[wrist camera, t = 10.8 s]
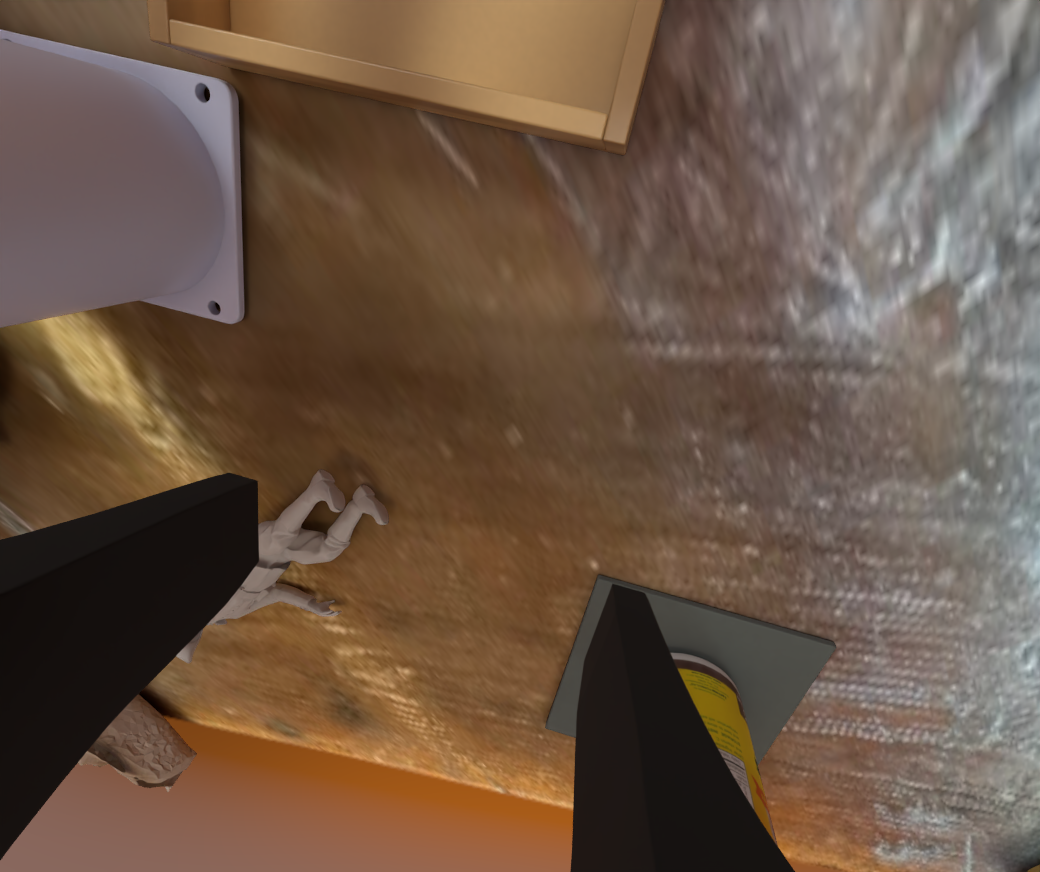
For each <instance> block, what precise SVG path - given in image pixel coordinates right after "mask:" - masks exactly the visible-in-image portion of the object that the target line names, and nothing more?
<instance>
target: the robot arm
mask: <svg viewBox="0 0 1040 872" xmlns="http://www.w3.org/2000/svg"><path fill="white" fill-rule="evenodd" d="M206 87H207V88H208V89H209V92H210V100H209V101H208V102H207V101H206V99H205V96H204V91H205V88H206ZM138 300H140V301H144V302H147V303H151V304H155V305H159V306H163V307H166V308H170V309H174V310H178V311H181V312H185V313H189V314H193V315H197V316H200V317H204V318H208V319H212V320H215V321H219V322H223V323H227V324H234V323H237V322H240V321H241V320H242V319H243V318H244V313H245V311H244V275H243V240H242V205H241V169H240V134H239V101H238V96H237V93H236V91H235V89H234V87H233V86H232V85H231V84H230V83H228V82H226V81H224V80H221V79H218V78H214V77H209V76H205V75H200V74H196V73H191V72H187V71H183V70H178V69H174V68H169V67H165V66H160V65H156V64H151V63H147V62H143V61H138V60H134V59H129V58H125V57H120V56H116V55H112V54H107V53H103V52H98V51H94V50H89V49H85V48H80V47H76V46H72V45H67V44H63V43H58V42H54V41H49V40H45V39H41V38H36V37H32V36H27V35H23V34H18V33H14V32H9V31H5V30H1V29H0V328H1V327H6V326H11V325H16V324H21V323H26V322H31V321H36V320H41V319H46V318H51V317H57V316H62V315H67V314H72V313H77V312H82V311H87V310H92V309H97V308H102V307H107V306H112V305H117V304H123V303H128V302H133V301H138ZM216 302H217V303H218V304H219V306H220V309H221V311H220V312H219V311H218V310H217V309H216V306H215V303H216ZM258 562H259V531H258V481H256V480H253V479H249V478H246V477H242V476H239V475H235V474H232V473H226V474H222V475H218V476H214V477H211V478H207V479H204V480H200V481H197V482H194V483H191V484H187V485H184V486H181V487H178V488H175V489H171V490H168V491H165V492H162V493H159V494H156V495H153V496H149V497H146V498H143V499H140V500H137V501H134V502H130V503H127V504H124V505H121V506H118V507H115V508H111V509H108V510H105V511H102V512H99V513H95V514H92V515H88V516H85V517H81V518H78V519H74V520H71V521H67V522H64V523H60V524H57V525H53V526H50V527H46V528H43V529H39V530H36V531H32V532H29V533H25V534H21V535H18V536H14V537H10V538H6V539H2V540H0V860H1V859H2V857H3V856H4V855H5V853H6V852H7V851H8V849H9V848H10V846H11V845H12V844H13V843H14V841H15V840H16V839H17V838H18V836H19V835H20V834H21V833H22V831H23V830H24V829H25V828H26V826H27V825H28V824H29V823H30V821H31V820H32V819H33V817H34V816H35V815H36V814H37V812H38V811H39V810H40V809H41V807H42V806H43V805H44V804H45V802H46V801H47V800H48V799H49V797H50V796H51V795H52V793H53V792H54V791H55V790H56V788H57V787H58V786H59V785H60V783H61V782H62V781H63V780H64V779H65V777H66V776H67V775H68V774H69V772H70V771H71V770H72V769H73V768H74V767H75V765H76V764H77V763H78V762H79V761H80V759H81V758H82V757H83V756H84V755H85V753H86V752H87V751H88V750H89V749H90V747H91V746H92V745H93V744H94V743H95V741H96V740H97V739H98V738H99V737H100V735H101V734H102V733H103V732H104V731H105V729H106V728H107V727H108V726H109V725H110V724H111V723H112V721H113V720H114V719H115V718H116V717H117V716H118V715H119V714H120V713H121V712H122V711H123V710H124V708H125V707H126V706H127V705H128V704H129V703H130V702H131V701H132V700H133V699H134V698H135V697H136V696H137V695H138V694H139V693H140V692H141V691H142V690H143V689H144V688H145V687H146V686H147V685H148V684H149V683H150V682H151V681H152V680H153V679H154V678H155V677H156V676H157V675H158V674H159V673H160V672H161V671H162V670H163V669H164V668H165V667H166V666H167V665H168V664H169V663H170V662H171V661H172V660H173V659H174V658H175V657H176V655H177V654H178V653H179V652H180V651H181V650H182V649H183V648H184V647H185V646H186V645H187V644H188V643H189V642H190V641H191V640H192V639H193V638H194V637H195V636H196V635H197V634H198V633H199V632H200V631H201V630H202V629H203V628H204V627H205V626H206V625H207V624H208V623H209V622H210V621H211V620H212V619H213V618H214V617H215V616H216V615H217V614H218V613H219V612H220V610H221V609H222V608H223V607H224V606H225V605H226V604H227V603H228V602H229V600H230V599H231V598H232V597H233V595H234V594H235V593H236V591H237V590H238V589H239V588H240V586H241V585H242V584H243V582H244V581H245V580H246V578H247V577H248V576H249V574H250V573H251V572H252V570H253V569H254V568H255V566H256V565H257V563H258ZM571 872H795V871H794V870H793V868H792V867H791V865H790V864H789V863H788V861H787V860H786V858H785V857H784V855H783V854H782V852H781V851H780V849H779V848H778V846H777V845H776V843H775V842H774V840H773V839H772V837H771V836H770V834H769V833H768V831H767V830H766V828H765V827H764V825H763V823H762V822H761V820H760V819H759V817H758V815H757V814H756V812H755V811H754V809H753V807H752V806H751V804H750V803H749V801H748V799H747V798H746V796H745V795H744V793H743V791H742V790H741V788H740V786H739V784H738V783H737V781H736V779H735V778H734V776H733V774H732V773H731V771H730V769H729V767H728V766H727V764H726V762H725V760H724V759H723V757H722V755H721V753H720V751H719V749H718V748H717V746H716V744H715V742H714V740H713V738H712V737H711V735H710V733H709V731H708V729H707V727H706V725H705V724H704V722H703V720H702V718H701V716H700V714H699V712H698V710H697V708H696V706H695V704H694V702H693V700H692V698H691V696H690V694H689V691H688V689H687V687H686V685H685V683H684V681H683V679H682V677H681V675H680V673H679V671H678V668H677V666H676V664H675V662H674V660H673V657H672V655H671V653H670V651H669V648H668V646H667V644H666V641H665V639H664V637H663V634H662V632H661V630H660V627H659V625H658V622H657V620H656V617H655V615H654V612H653V610H652V607H651V605H650V602H649V600H648V598H647V596H646V594H645V593H644V592H640V591H637V590H633V589H630V588H626V587H623V586H619V585H616V584H612V586H611V589H610V592H609V594H608V597H607V600H606V602H605V605H604V608H603V611H602V613H601V616H600V619H599V621H598V624H597V627H596V629H595V632H594V635H593V638H592V640H591V643H590V646H589V648H588V651H587V654H586V656H585V659H584V665H583V672H582V679H581V686H580V693H579V700H578V708H577V720H576V747H575V777H574V809H573V841H572V860H571Z"/></svg>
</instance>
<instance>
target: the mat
mask: <svg viewBox="0 0 1040 872" xmlns="http://www.w3.org/2000/svg"><path fill="white" fill-rule="evenodd" d="M612 584H616V585H619V586H623V587H626V588H630V589H633V590H637V591H640V592H644V593H645V594H646V596H647V598H648V600H649V602H650V605H651V607H652V610H653V612H654V615H655V617H656V620H657V622H658V625H659V627H660V630H661V632H662V634H663V637H664V639H665V641H666V644H667V646H668V648H669V651H670V653H683V654H689V655H693V656H696V657H699V658H702V659H704V660H707V661H709V662H710V663H712V664H714V665H716V666H717V667H718V668H720V669H721V670H722V671H724V672H725V673H726V674H727V675H728V676H729V678H730V679H731V680H732V681H733V683H734V684H735V686H736V688H737V690H738V692H739V695H740V698H741V701H742V705H743V708H744V712H745V716H746V721H747V725H748V729H749V732H750V737H751V741H752V745H753V749H754V753H755V757H756V761H757V765H758V764H759V763H760V761H761V760H762V758H763V757H764V755H765V754H766V752H767V751H768V749H769V748H770V746H771V745H772V743H773V742H774V740H775V739H776V737H777V736H778V734H779V733H780V731H781V730H782V728H783V727H784V725H785V724H786V722H787V721H788V719H789V718H790V716H791V715H792V713H793V712H794V710H795V709H796V707H797V706H798V704H799V703H800V701H801V700H802V698H803V697H804V695H805V694H806V692H807V691H808V689H809V688H810V686H811V685H812V683H813V682H814V680H815V679H816V677H817V676H818V674H819V673H820V671H821V670H822V668H823V667H824V665H825V664H826V662H827V661H828V659H829V658H830V656H831V655H832V653H833V652H834V650H835V649H836V645H835V643H834V642H832V641H828V640H825V639H821V638H818V637H814V636H811V635H807V634H804V633H800V632H797V631H793V630H790V629H786V628H783V627H780V626H776V625H773V624H769V623H766V622H762V621H759V620H755V619H752V618H748V617H745V616H741V615H738V614H734V613H731V612H727V611H724V610H720V609H717V608H713V607H710V606H706V605H703V604H699V603H696V602H693V601H689V600H686V599H682V598H679V597H675V596H672V595H668V594H665V593H661V592H658V591H654V590H651V589H647V588H644V587H640V586H637V585H633V584H630V583H626V582H623V581H619V580H616V579H612V578H609V577H606V576H602V575H598V577H597V580H596V582H595V585H594V588H593V591H592V594H591V597H590V599H589V602H588V605H587V608H586V611H585V614H584V617H583V619H582V622H581V625H580V628H579V631H578V634H577V636H576V639H575V642H574V645H573V648H572V651H571V654H570V656H569V659H568V662H567V665H566V668H565V671H564V673H563V676H562V679H561V682H560V685H559V688H558V691H557V693H556V696H555V699H554V702H553V705H552V708H551V710H550V713H549V716H548V719H547V722H546V726H545V728H546V729H549V730H552V731H555V732H559V733H562V734H565V735H568V736H571V737H575V738H576V720H577V708H578V700H579V693H580V686H581V679H582V672H583V665H584V659H585V656H586V654H587V651H588V648H589V646H590V643H591V640H592V638H593V635H594V632H595V629H596V627H597V624H598V621H599V619H600V616H601V613H602V611H603V608H604V605H605V602H606V600H607V597H608V594H609V592H610V589H611V586H612Z"/></svg>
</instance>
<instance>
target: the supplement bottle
mask: <svg viewBox="0 0 1040 872" xmlns="http://www.w3.org/2000/svg"><path fill="white" fill-rule="evenodd" d="M671 655H672V657H673V660H674V662H675V664H676V666H677V668H678V671H679V673H680V675H681V677H682V679H683V681H684V683H685V685H686V687H687V689H688V691H689V694H690V696H691V698H692V700H693V702H694V704H695V706H696V708H697V710H698V712H699V714H700V716H701V718H702V720H703V722H704V724H705V725H706V727H707V729H708V731H709V733H710V735H711V737H712V738H713V740H714V742H715V744H716V746H717V748H718V749H719V751H720V753H721V755H722V757H723V759H724V760H725V762H726V764H727V766H728V767H729V769H730V771H731V773H732V774H733V776H734V778H735V779H736V781H737V783H738V784H739V786H740V788H741V790H742V791H743V793H744V795H745V796H746V798H747V799H748V801H749V803H750V804H751V806H752V807H753V809H754V811H755V812H756V814H757V815H758V817H759V819H760V820H761V822H762V823H763V825H764V827H765V828H766V830H767V831H768V833H769V834H770V836H771V837H772V839H773V840H774V842H775V843H776V845H777V841H776V837H775V833H774V829H773V825H772V821H771V817H770V814H769V810H768V806H767V802H766V797H765V793H764V789H763V785H762V782H761V777H760V773H759V769H758V765H757V761H756V757H755V753H754V749H753V745H752V741H751V737H750V732H749V729H748V725H747V721H746V716H745V712H744V708H743V705H742V701H741V698H740V695H739V692H738V690H737V688H736V686H735V684H734V683H733V681H732V680H731V679H730V678H729V676H728V675H727V674H726V673H725V672H724V671H722V670H721V669H720V668H718V667H717V666H716V665H714V664H712V663H710V662H709V661H707V660H704V659H702V658H699V657H696V656H693V655H689V654H683V653H671ZM777 846H778V845H777Z"/></svg>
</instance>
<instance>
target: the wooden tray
mask: <svg viewBox="0 0 1040 872" xmlns="http://www.w3.org/2000/svg"><path fill="white" fill-rule="evenodd" d="M665 1H666V0H147V7H148V18H149V29H150V39H151V40H152V41H153V42H156V43H159V44H162V45H165V46H168V47H171V48H174V49H176V50H179V51H182V52H185V53H188V54H191V55H194V56H197V57H199V58H202V59H205V60H208V61H211V62H214V63H217V64H220V65H223V66H225V67H229V68H234V69H238V70H243V71H247V72H252V73H256V74H261V75H265V76H270V77H274V78H279V79H283V80H288V81H292V82H297V83H301V84H306V85H310V86H315V87H319V88H324V89H328V90H332V91H337V92H341V93H346V94H350V95H355V96H359V97H364V98H368V99H373V100H377V101H382V102H386V103H391V104H395V105H400V106H404V107H409V108H413V109H418V110H422V111H427V112H431V113H436V114H440V115H444V116H449V117H453V118H458V119H462V120H467V121H471V122H476V123H480V124H485V125H489V126H494V127H498V128H503V129H507V130H512V131H516V132H521V133H525V134H530V135H534V136H539V137H543V138H548V139H552V140H556V141H561V142H565V143H570V144H574V145H579V146H583V147H588V148H592V149H597V150H601V151H606V152H610V153H615V154H619V155H625V154H626V151H627V147H628V143H629V139H630V135H631V131H632V128H633V124H634V120H635V116H636V112H637V109H638V105H639V101H640V97H641V93H642V89H643V86H644V82H645V78H646V74H647V70H648V66H649V63H650V59H651V55H652V51H653V47H654V43H655V40H656V36H657V32H658V28H659V24H660V20H661V17H662V13H663V9H664V5H665Z"/></svg>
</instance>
